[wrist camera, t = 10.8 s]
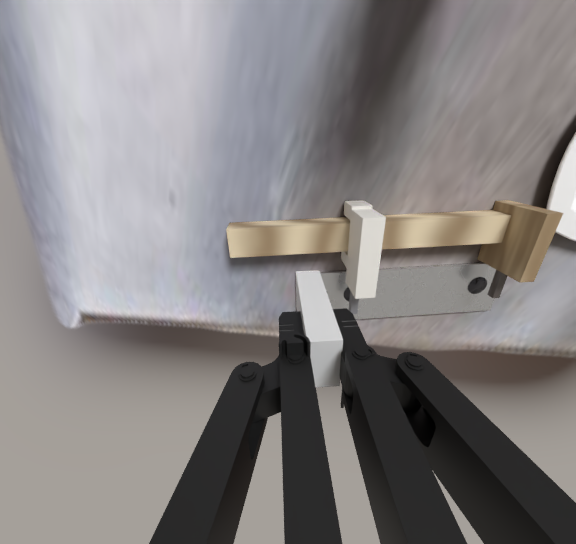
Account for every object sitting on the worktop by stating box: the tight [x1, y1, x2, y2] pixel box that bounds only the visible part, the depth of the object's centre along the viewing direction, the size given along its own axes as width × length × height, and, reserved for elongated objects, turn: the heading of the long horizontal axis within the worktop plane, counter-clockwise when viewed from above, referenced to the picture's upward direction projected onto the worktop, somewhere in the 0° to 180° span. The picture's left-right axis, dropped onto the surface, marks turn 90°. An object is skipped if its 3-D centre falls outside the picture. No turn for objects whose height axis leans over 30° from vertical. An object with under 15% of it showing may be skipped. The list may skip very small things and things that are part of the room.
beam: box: [226, 200, 563, 298], centre depth 28 cm, size 32×10×6 cm, turn 92°
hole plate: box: [320, 263, 496, 320], centre depth 33 cm, size 7×26×1 cm, turn 92°
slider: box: [341, 200, 386, 314], centre depth 27 cm, size 2×12×6 cm, turn 2°
